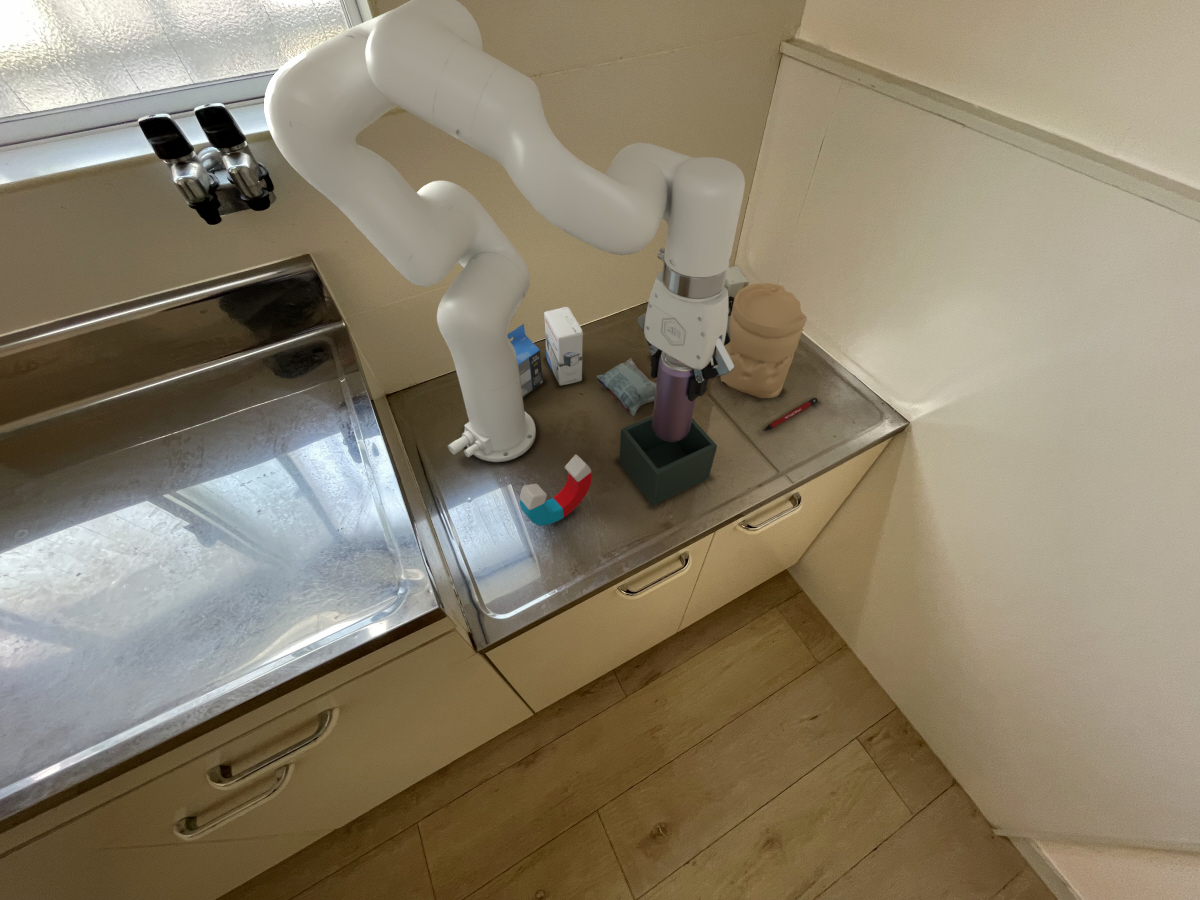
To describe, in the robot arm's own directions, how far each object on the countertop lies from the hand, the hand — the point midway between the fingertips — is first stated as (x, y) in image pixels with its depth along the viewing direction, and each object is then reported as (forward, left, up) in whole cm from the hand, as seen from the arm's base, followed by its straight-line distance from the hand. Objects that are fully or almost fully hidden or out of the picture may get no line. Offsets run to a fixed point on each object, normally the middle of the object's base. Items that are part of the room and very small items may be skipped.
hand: (677, 383), depth 81 cm
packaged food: (+10, +16, -20) cm, 28 cm away
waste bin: (0, 0, -20) cm, 20 cm away
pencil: (+25, -9, -20) cm, 34 cm away
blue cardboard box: (-4, +32, -20) cm, 38 cm away
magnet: (-18, +7, -20) cm, 28 cm away
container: (+28, +2, -20) cm, 35 cm away
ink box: (+6, +30, -20) cm, 37 cm away
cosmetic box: (+39, +16, -20) cm, 47 cm away
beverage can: (0, 0, -10) cm, 10 cm away
